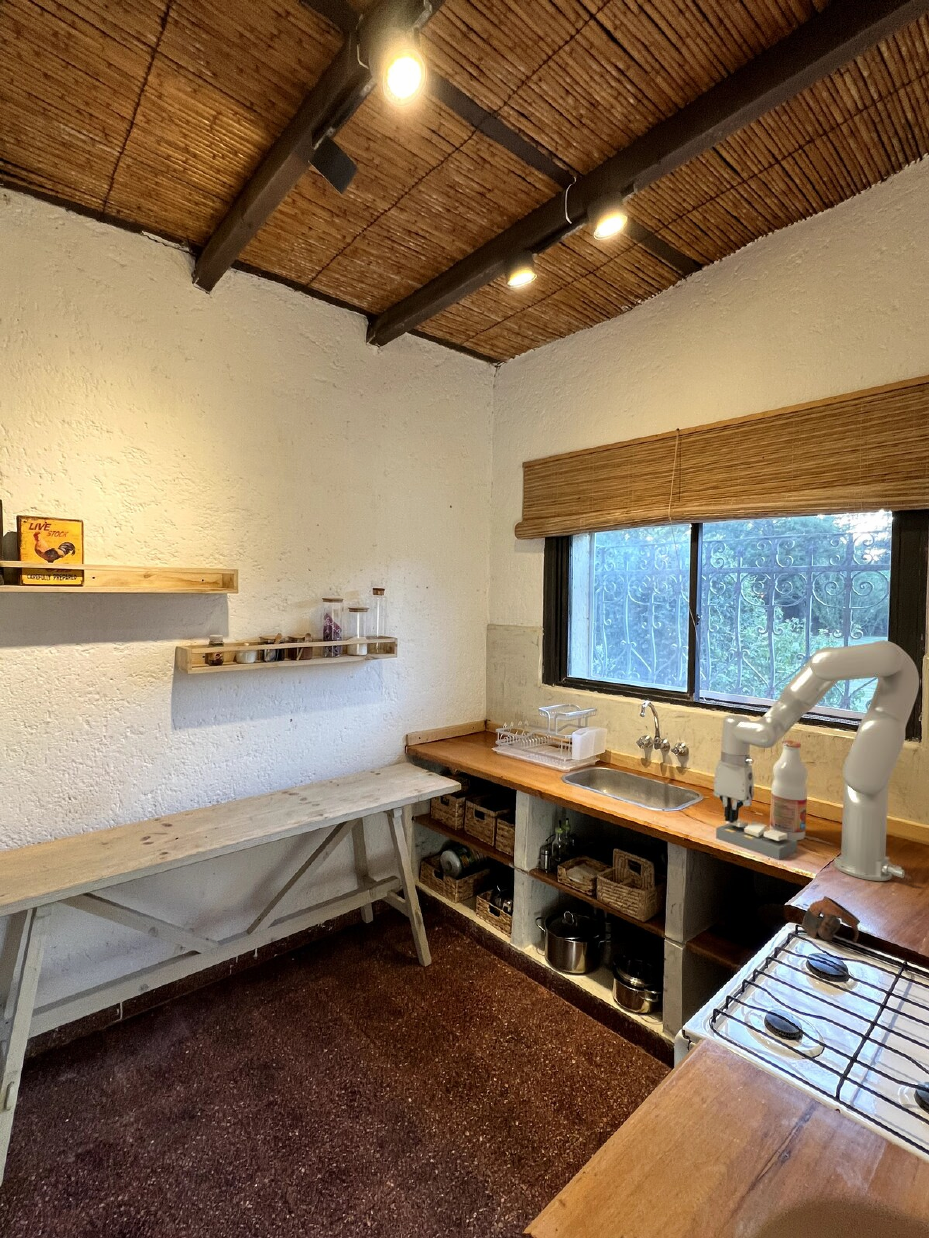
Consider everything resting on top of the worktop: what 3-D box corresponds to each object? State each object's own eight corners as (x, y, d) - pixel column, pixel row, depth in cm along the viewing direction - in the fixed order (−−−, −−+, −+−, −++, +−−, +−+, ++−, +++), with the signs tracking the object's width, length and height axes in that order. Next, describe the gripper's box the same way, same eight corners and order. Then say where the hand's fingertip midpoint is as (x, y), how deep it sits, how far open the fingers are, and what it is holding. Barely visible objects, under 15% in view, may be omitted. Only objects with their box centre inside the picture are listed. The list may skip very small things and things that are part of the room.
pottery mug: (797, 919, 130) (819, 888, 129) (842, 953, 125) (865, 921, 124) (797, 930, 120) (820, 896, 119) (845, 967, 114) (870, 932, 114)
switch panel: (796, 851, 166) (797, 840, 166) (778, 860, 160) (779, 848, 160) (734, 830, 180) (735, 820, 180) (716, 838, 174) (716, 827, 174)
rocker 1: (747, 828, 174) (748, 822, 174) (739, 827, 171) (739, 822, 171) (734, 823, 177) (735, 818, 177) (725, 823, 174) (726, 818, 174)
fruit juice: (765, 827, 184) (769, 737, 183) (797, 830, 182) (802, 739, 181) (775, 839, 174) (779, 744, 174) (810, 842, 173) (815, 746, 172)
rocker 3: (786, 839, 165) (787, 833, 165) (778, 841, 162) (778, 836, 162) (772, 834, 168) (772, 829, 168) (763, 837, 165) (763, 831, 165)
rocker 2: (767, 829, 170) (766, 825, 169) (758, 837, 167) (758, 833, 167) (753, 825, 173) (752, 820, 173) (744, 833, 170) (744, 828, 170)
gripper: (767, 763, 169) (763, 827, 170) (716, 751, 181) (713, 810, 182) (754, 766, 164) (750, 832, 165) (703, 754, 176) (699, 815, 177)
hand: (730, 820), depth 173 cm, fingers closed
